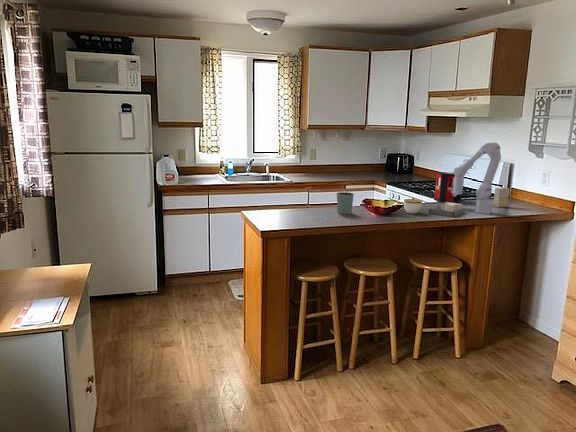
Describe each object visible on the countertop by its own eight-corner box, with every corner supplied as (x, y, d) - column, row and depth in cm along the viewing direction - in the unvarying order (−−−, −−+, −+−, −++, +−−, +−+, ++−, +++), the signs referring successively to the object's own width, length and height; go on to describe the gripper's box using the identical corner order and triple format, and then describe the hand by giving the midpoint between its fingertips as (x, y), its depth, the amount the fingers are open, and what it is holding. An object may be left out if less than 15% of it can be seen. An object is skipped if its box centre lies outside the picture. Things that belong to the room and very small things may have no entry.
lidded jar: (404, 210, 305) (405, 195, 303) (421, 211, 301) (423, 197, 299) (401, 213, 295) (403, 198, 293) (419, 214, 291) (421, 199, 289)
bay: (463, 212, 304) (463, 207, 303) (454, 217, 287) (454, 212, 287) (438, 208, 312) (439, 204, 312) (428, 213, 296) (429, 208, 295)
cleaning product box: (439, 202, 339) (442, 173, 335) (433, 199, 347) (436, 172, 343) (461, 202, 341) (464, 174, 337) (455, 199, 350) (458, 172, 346)
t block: (461, 210, 311) (462, 204, 310) (457, 212, 303) (458, 206, 302) (446, 208, 316) (446, 202, 316) (441, 210, 308) (442, 204, 307)
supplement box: (502, 205, 331) (504, 187, 328) (507, 207, 327) (509, 188, 324) (492, 206, 328) (494, 187, 326) (497, 207, 324) (499, 188, 321)
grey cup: (350, 215, 283) (351, 195, 281) (333, 213, 287) (334, 193, 284) (354, 212, 293) (355, 192, 290) (338, 210, 296) (339, 191, 294)
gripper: (455, 183, 322) (453, 203, 325) (448, 186, 311) (446, 206, 313) (466, 184, 319) (463, 205, 321) (460, 187, 307) (457, 208, 310)
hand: (456, 205), depth 317 cm, fingers closed
